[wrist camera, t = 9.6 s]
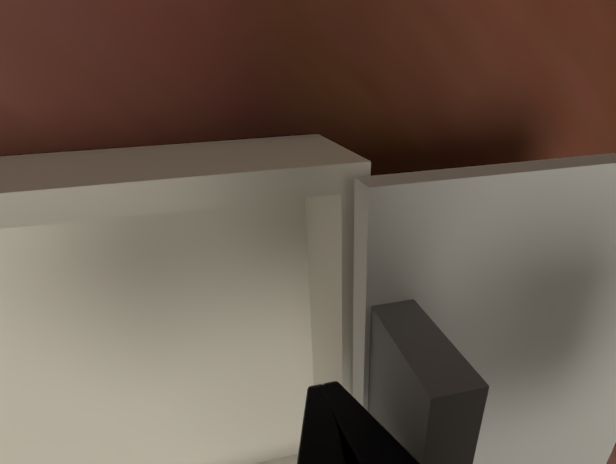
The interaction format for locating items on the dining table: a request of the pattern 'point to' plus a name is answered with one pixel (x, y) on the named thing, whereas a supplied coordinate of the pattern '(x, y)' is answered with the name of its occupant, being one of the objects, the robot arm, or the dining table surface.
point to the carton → (173, 299)
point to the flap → (489, 310)
